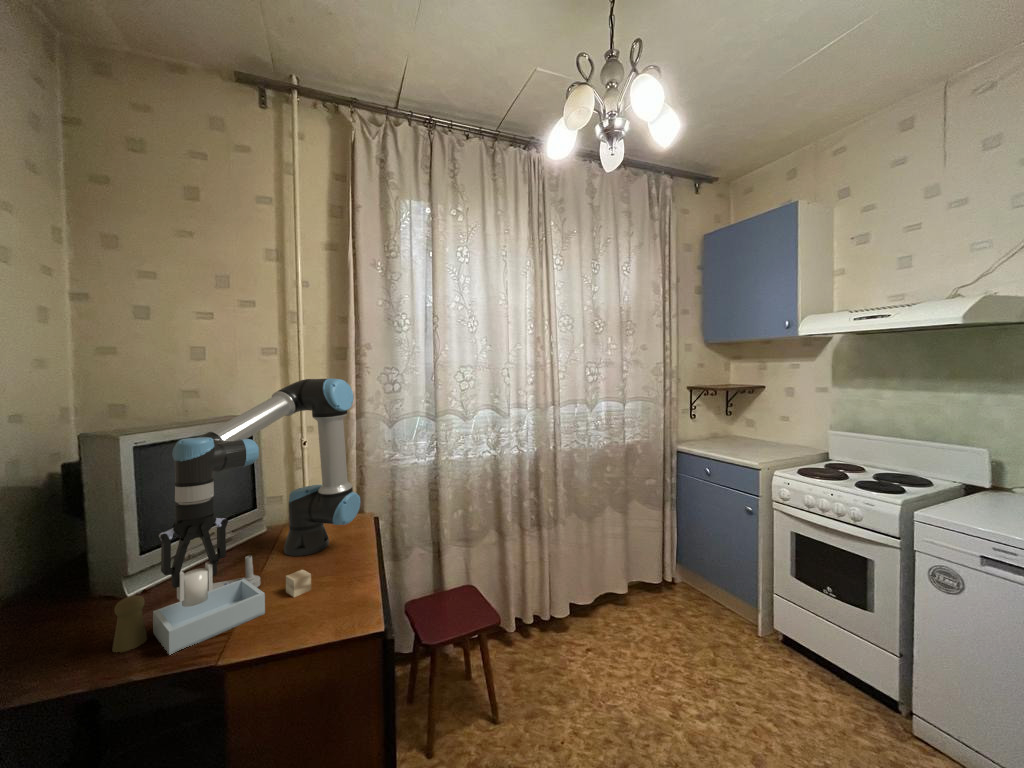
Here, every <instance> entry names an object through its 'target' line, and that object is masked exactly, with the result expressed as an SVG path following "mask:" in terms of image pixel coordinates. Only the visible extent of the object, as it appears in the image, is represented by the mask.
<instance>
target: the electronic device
mask: <svg viewBox="0 0 1024 768" xmlns="http://www.w3.org/2000/svg"><path fill="white" fill-rule="evenodd" d="M244 561H245V568H244V569H245V577H239V578H233V579H229V580H225V581H220V582H213V589H216V588H219V587H222V586H225V585H227V584H230V583H233V582H236V581H238V580H241V579H245V580H247V581H248V582H250V583H251V584H253V585H254V586H255V587H257V588H259V587H260V586H261V576H259V575H256V574H254V565H253V555H247V556H245V557H244Z"/></svg>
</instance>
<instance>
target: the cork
mask: <svg viewBox="0 0 1024 768" xmlns="http://www.w3.org/2000/svg"><path fill="white" fill-rule="evenodd" d="M144 606H145V599H144V597H143V596H142V595H131V596H128V597H124V598H122V599H121V600H119V601H118V602H117V603H116V604H115V606H114V611H113V612H114V614H115V615H116V617H117V621H116V624H115V632H114V637H113V643H112V649H111V650H112V653H115V652H116V653H117V652H120V653H125V652H128V651H132V650H133V649H134V650H135V649H136V648H138V647H140V646H142V645H143V644H145V643H146V641H147V640H148V636H147V630H146V625H145V621H144V620H145V619H144V614H143V610H142V609H143V607H144ZM141 644H142V645H141ZM131 649H132V650H131ZM117 654H118V653H117Z"/></svg>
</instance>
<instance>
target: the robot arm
mask: <svg viewBox="0 0 1024 768" xmlns="http://www.w3.org/2000/svg"><path fill="white" fill-rule="evenodd" d="M353 403H354V392H353V390H352V387H351V385H350V384H349V383H348V382H347V381H345V379H344V380H343V379H340V378H333V377H332V378H330V377H329V378H305V379H301V380H298V381H295V382H294V383H291V384H289V385H287V386H285V387H282V388H281V389H279V390H277V391H275V392H273V393H272V395H271V396H270V398H268V399H266V400H264V401H262V402H261V403H259V404H257V405H256V406H254V407H251V408H249V409H248V410H247V411H245V412H242V413H240V414H239V415H237V416H236V417H233V418H232V419H230V420H228V421H226V422H224V423H222V424H221V425H219V426H217V427H215V428H213V429H212V430H210V431H208V432H206V433H204V434H202V435H200V436H198V437H188V438H183V439H179V440H177V442H176V443H175V445H174V447H173V448H172V449H173V450H172V451H171V452H172V453H171V454H172V458H173V461H174V502H175V503H176V504H175V505H174V523H173V524H172V527H171V528H170V529H167V530H166V531H160V532H159V533H158V534H157V536H158V538H159V540H160V542H161V544H160V545H161V547H160V548H161V549H160V551H161V556H160V559H161V560H160V563H161V565H160V567H161V568H160V572H161V573H162V574H163V575H164V576H170V575H171V587H172V588H173V589H176V599H177V600H178V602H181V601H183V600H184V573H185V572H184V571H182V567H183V563H184V561H185V557H186V554H187V550H188V548H189V545H190V543H191V540H192V541H193V540H195V539H197V538H200V539H201V541H202V544H203V547H204V550H205V552H206V556H207V558H208V560H209V561H207V562H204V563H205V565H204V568H206V569H208V591H211V590H213V583H214V582H213V579H214V578H213V576H215V575H217V573H218V563H219V561H220V560H221V559H223V558H225V557H226V556H227V550H226V549H227V547H226V545H227V540H226V539H227V537H226V535H227V532H226V531H227V530H226V529H227V527H228V526H227V525H228V523H229V519H228V518H225V517H220V518H219V517H216V516H215V500H214V498H213V497H214V496H215V490H214V489H215V485H214V481H215V478H214V477H215V473H218V472H219V473H220V472H223V471H228V470H232V469H237V468H244V467H247V466H250V465H253V464H254V463H255V462H256V461H257V460H258V459H259V456H260V452H259V450H260V448H259V445H258V443H257V442H255V441H254V440H253V439H251V438H250V437H253V436H254V435H255V434H257V433H259V432H260V431H262V430H264V429H265V428H267V427H269V426H270V425H272V424H273V423H275V422H277V421H278V420H280V419H282V418H283V417H285V416H286V417H290V416H292V415H293V414H296V413H298V412H303V411H304V412H305V411H311V415H312V418H313V419H314V420H315V421H316V422H317V431H318V433H317V435H318V444H319V445H318V446H319V459H320V470H321V471H320V472H321V483H322V484H312V485H308V486H302V487H299V488H295V489H294V490H291V492H290V493H289V495H288V521H289V523H288V526H289V528H288V534H287V536H286V539H285V543H284V545H283V553H284V555H287V556H290V557H301V556H302V557H303V556H309V555H312V554H317V553H320V552H321V551H323V550H325V549H326V548H327V547H328V546H329V543H330V540H329V535H328V532H327V530H326V528H325V524H328V525H334V526H339V525H341V526H345V525H349V524H350V523H351V522H352V521H353V520H355V519H356V517H357V515H358V513H359V511H360V507H361V496H360V495H359V494H358V493H357V492H354V491H353V490H354V489H353V484H352V483H351V482H349V479H348V468H347V467H348V465H347V454H346V453H347V452H346V441H345V440H346V439H345V426H344V424H345V423H344V419H345V417H346V416H347V415H348V410H349V409H351V408H352V406H353ZM249 438H250V439H249ZM214 525H215V527H216V550H215V548H214V545H213V542H212V539H211V535H210V532H209V531H210V530H211V529H212V527H214ZM174 534H176V535H177V536H178V537H179V539H178V544H177V548H176V552H175V556H174V559H173V561H171V558H172V556H171V555H172V542H171V540H172V539H173V535H174ZM171 562H172V563H171Z"/></svg>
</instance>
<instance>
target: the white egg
mask: <svg viewBox="0 0 1024 768" xmlns="http://www.w3.org/2000/svg"><path fill="white" fill-rule="evenodd" d="M183 573H184V600H183V601H182V606H184V607H191V606H195V605H198V604H201V603H203V602H205V601H206V600H207V599H208V569H206V568H205V567H203V568H201V567H200V568H195V569H192V570H191V569H190V570H188V571H187V572H183Z"/></svg>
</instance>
